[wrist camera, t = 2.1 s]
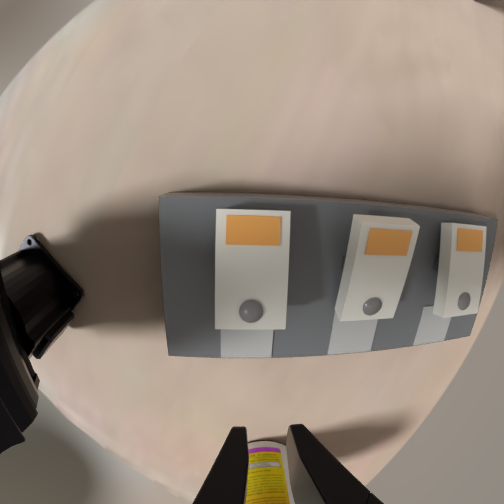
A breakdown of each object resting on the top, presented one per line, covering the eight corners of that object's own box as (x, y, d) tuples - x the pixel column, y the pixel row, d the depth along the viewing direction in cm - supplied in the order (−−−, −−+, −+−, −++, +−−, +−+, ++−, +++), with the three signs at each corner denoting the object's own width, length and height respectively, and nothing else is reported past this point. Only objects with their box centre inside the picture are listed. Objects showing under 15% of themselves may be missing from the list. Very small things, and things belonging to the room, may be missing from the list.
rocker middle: (385, 307, 18) (393, 319, 17) (334, 309, 18) (340, 322, 16) (409, 218, 15) (421, 226, 14) (353, 214, 15) (363, 222, 14)
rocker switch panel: (175, 332, 21) (167, 359, 18) (169, 192, 19) (156, 197, 15) (451, 320, 23) (473, 338, 20) (474, 212, 20) (501, 220, 17)
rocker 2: (467, 309, 17) (478, 313, 16) (432, 313, 17) (443, 318, 16) (475, 226, 17) (487, 226, 16) (441, 222, 17) (453, 222, 15)
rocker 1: (281, 322, 16) (285, 330, 15) (216, 321, 16) (215, 329, 15) (286, 211, 16) (291, 210, 15) (217, 209, 16) (216, 208, 14)
